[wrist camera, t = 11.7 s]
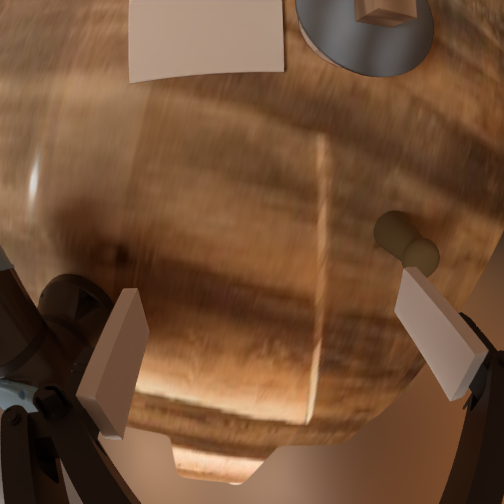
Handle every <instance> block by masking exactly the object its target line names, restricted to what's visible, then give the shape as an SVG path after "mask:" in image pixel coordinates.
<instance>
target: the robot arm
mask: <svg viewBox="0 0 504 504" xmlns="http://www.w3.org/2000/svg"><path fill="white" fill-rule="evenodd" d="M394 312H395V314H396V315H397V317H398V318H399V320H400V321H401V323H402V324H403V326H404V327H405V329H406V330H407V332H408V333H409V335H410V336H411V338H412V339H413V341H414V343H415V344H416V346H417V347H418V349H419V350H420V352H421V354H422V355H423V357H424V358H425V360H426V362H427V363H428V365H429V367H430V368H431V370H432V372H433V373H434V375H435V376H436V378H437V380H438V382H439V383H440V385H441V387H442V388H443V390H444V392H445V394H446V395H447V397H448V399H449V400H450V401H453V400H455V399H458V398H461V397H463V396H464V394H465V393H466V391H467V389H468V388H470V390H471V391H472V393H471V395H470V397H469V398H468V400H467V402H466V403H465V405H464V407H463V409H465V408H466V406H467V405H468V407H467V412H466V417H465V421H464V425H463V429H462V433H461V437H460V441H459V445H458V449H457V452H456V456H455V459H454V462H453V466H452V469H451V472H450V475H449V478H448V481H447V484H446V486H445V489H444V492H443V495H442V498H441V500H440V502H439V504H501V503H502V499H503V495H504V351H501V350H500V351H497V350H496V349H495V348H494V346H493V345H492V344H491V342H490V341H489V340H488V339H487V337H486V336H485V335H484V334H483V333H482V332H481V330H480V329H479V328H478V327H476V324H475V323H474V322H473V321H472V320H471V318H469V317H468V316H466V315H465V314H463V313H462V312H461V313H458V312H457V311H456V310H455V309H454V308H453V307H452V306H451V304H450V303H449V302H448V301H447V300H446V299H445V298H444V296H443V295H442V294H441V293H440V292H439V291H438V290H437V289H436V288H435V286H434V285H433V284H432V283H431V282H430V281H429V280H428V279H427V278H426V277H425V276H424V275H423V274H422V272H421V271H420V270H419V269H418V268H417V267H407V268H404V269H403V274H402V279H401V284H400V288H399V293H398V297H397V302H396V306H395V310H394ZM149 334H150V330H149V327H148V323H147V320H146V317H145V313H144V310H143V306H142V302H141V299H140V295H139V291H138V288H124V289H123V290H122V292H121V294H120V296H119V298H118V300H117V302H116V304H115V306H114V305H113V303H112V301H111V300H110V298H109V297H108V296H107V295H106V294H105V293H104V292H103V291H102V290H101V289H100V288H99V287H98V286H96V285H95V284H94V283H92V282H90V281H88V280H86V279H84V278H82V277H79V276H75V275H61V276H58V277H55V278H54V279H52V280H51V281H50V282H49V283H48V284H47V286H46V287H45V288H44V289H43V291H42V293H41V295H40V299H39V305H38V307H37V308H36V306H35V305H34V303H33V301H32V300H31V298H30V296H29V295H28V293H27V291H26V289H25V288H24V286H23V284H22V282H21V280H20V278H19V277H18V275H17V273H16V271H15V269H14V265H13V264H11V262H10V261H9V259H8V257H7V256H6V254H5V252H4V250H3V248H2V247H1V245H0V407H1V408H2V409H3V410H5V411H4V413H3V414H2V417H1V469H2V482H3V493H4V500H5V504H70V503H69V500H68V496H67V491H66V487H65V483H64V478H63V473H62V468H61V463H60V459H61V461H62V463H63V465H64V467H65V470H66V471H67V474H68V476H69V478H70V480H71V482H72V484H73V485H74V487H75V489H76V491H77V493H78V495H79V497H80V498H81V500H82V502H83V504H141V502H140V501H139V500H138V499H137V497H136V496H135V495H134V493H133V492H132V490H131V489H130V488H129V486H128V485H127V483H126V482H125V481H124V479H123V478H122V476H121V475H120V473H119V472H118V470H117V469H116V467H115V466H114V464H113V463H112V461H111V459H110V458H109V456H108V455H107V453H106V452H105V450H104V448H103V447H102V445H101V443H100V442H99V440H98V439H97V438H98V434H99V431H100V432H101V433H102V435H103V436H104V438H107V439H115V440H123V436H124V432H125V427H126V423H127V419H128V414H129V410H130V406H131V402H132V398H133V394H134V390H135V386H136V382H137V378H138V374H139V370H140V367H141V363H142V359H143V356H144V352H145V349H146V345H147V341H148V338H149Z"/></svg>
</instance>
